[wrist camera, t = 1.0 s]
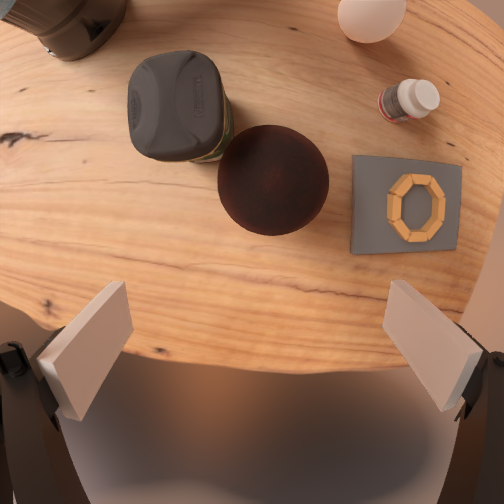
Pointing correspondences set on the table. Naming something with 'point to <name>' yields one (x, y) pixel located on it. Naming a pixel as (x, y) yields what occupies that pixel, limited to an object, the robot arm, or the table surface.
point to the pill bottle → (408, 100)
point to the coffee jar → (179, 108)
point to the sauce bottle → (370, 18)
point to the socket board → (404, 205)
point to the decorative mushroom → (272, 180)
